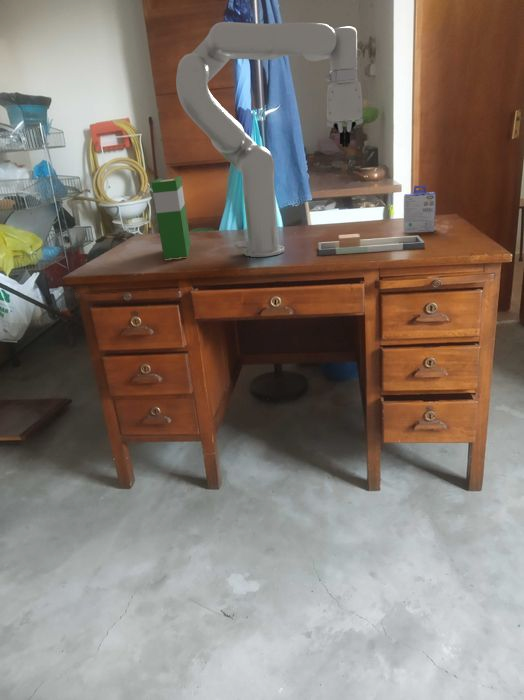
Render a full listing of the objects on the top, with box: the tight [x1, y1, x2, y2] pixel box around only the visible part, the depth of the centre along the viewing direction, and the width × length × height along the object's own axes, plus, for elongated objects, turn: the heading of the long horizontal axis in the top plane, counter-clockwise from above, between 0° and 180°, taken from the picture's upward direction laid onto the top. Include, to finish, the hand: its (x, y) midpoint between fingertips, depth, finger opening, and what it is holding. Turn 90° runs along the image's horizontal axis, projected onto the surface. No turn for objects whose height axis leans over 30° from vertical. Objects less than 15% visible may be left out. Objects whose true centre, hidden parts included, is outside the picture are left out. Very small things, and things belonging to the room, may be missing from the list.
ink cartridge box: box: [403, 184, 437, 234], centre depth 168 cm, size 10×6×14 cm, turn 76°
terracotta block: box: [338, 233, 361, 248], centre depth 153 cm, size 6×5×4 cm
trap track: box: [318, 235, 426, 256], centre depth 153 cm, size 30×10×2 cm, turn 84°
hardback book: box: [150, 175, 192, 260], centre depth 169 cm, size 18×7×24 cm, turn 3°
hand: (344, 146), depth 155 cm, fingers closed
